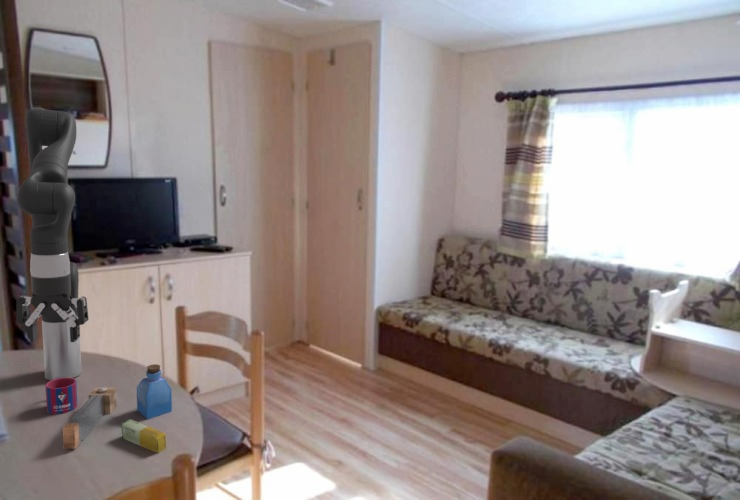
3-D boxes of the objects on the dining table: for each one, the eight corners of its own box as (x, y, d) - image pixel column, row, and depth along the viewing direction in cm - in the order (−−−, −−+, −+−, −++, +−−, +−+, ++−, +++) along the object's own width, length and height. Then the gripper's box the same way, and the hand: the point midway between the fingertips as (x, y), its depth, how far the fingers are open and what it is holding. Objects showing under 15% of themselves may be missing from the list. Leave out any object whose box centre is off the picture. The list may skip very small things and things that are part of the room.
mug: (46, 416, 128) (45, 390, 127) (47, 399, 137) (45, 375, 135) (77, 411, 132) (76, 385, 131) (76, 395, 140) (75, 371, 139)
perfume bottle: (171, 411, 134) (171, 367, 132) (147, 419, 129) (146, 373, 127) (160, 403, 138) (159, 360, 136) (137, 410, 134) (136, 366, 132)
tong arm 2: (99, 413, 130) (98, 394, 129) (104, 413, 130) (103, 394, 129) (69, 448, 114) (68, 427, 114) (75, 448, 114) (74, 427, 114)
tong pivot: (96, 405, 135) (95, 385, 134) (116, 405, 135) (115, 385, 134) (89, 413, 130) (88, 392, 130) (110, 413, 131) (109, 392, 130)
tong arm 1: (93, 413, 130) (92, 394, 129) (98, 413, 130) (97, 394, 129) (63, 448, 114) (62, 427, 113) (69, 448, 114) (68, 427, 114)
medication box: (121, 439, 120) (120, 423, 120) (131, 433, 123) (130, 418, 122) (157, 454, 115) (157, 438, 114) (167, 448, 117) (166, 432, 117)
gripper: (91, 269, 121) (93, 335, 124) (25, 267, 119) (29, 334, 122) (77, 277, 113) (80, 347, 116) (6, 275, 111) (11, 346, 115)
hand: (54, 340), depth 119 cm, fingers open, 8 cm apart
